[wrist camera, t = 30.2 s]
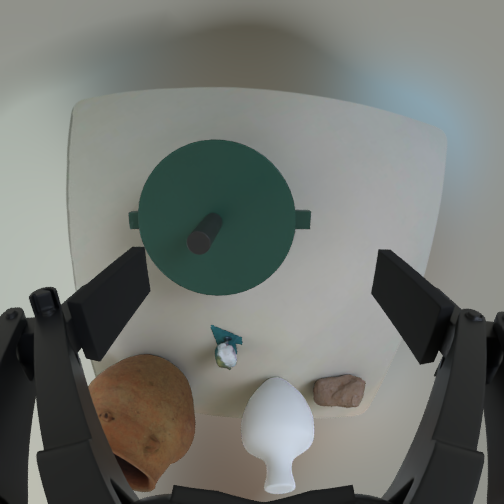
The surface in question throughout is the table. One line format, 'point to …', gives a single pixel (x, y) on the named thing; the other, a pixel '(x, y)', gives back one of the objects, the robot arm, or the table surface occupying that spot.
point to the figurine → (225, 347)
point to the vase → (277, 431)
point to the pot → (144, 416)
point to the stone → (339, 391)
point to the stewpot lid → (216, 217)
